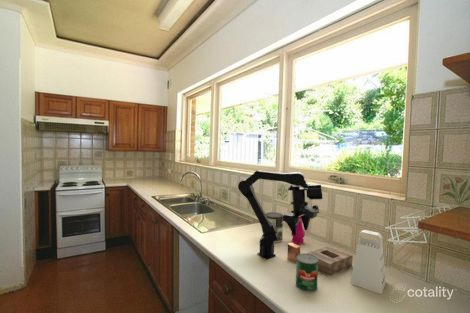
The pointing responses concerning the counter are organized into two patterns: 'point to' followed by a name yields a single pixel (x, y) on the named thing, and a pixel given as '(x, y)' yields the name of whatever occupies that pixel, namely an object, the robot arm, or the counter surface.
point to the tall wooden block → (293, 252)
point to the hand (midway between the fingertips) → (300, 232)
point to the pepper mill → (299, 233)
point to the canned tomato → (307, 272)
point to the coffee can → (277, 224)
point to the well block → (332, 260)
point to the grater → (369, 264)
